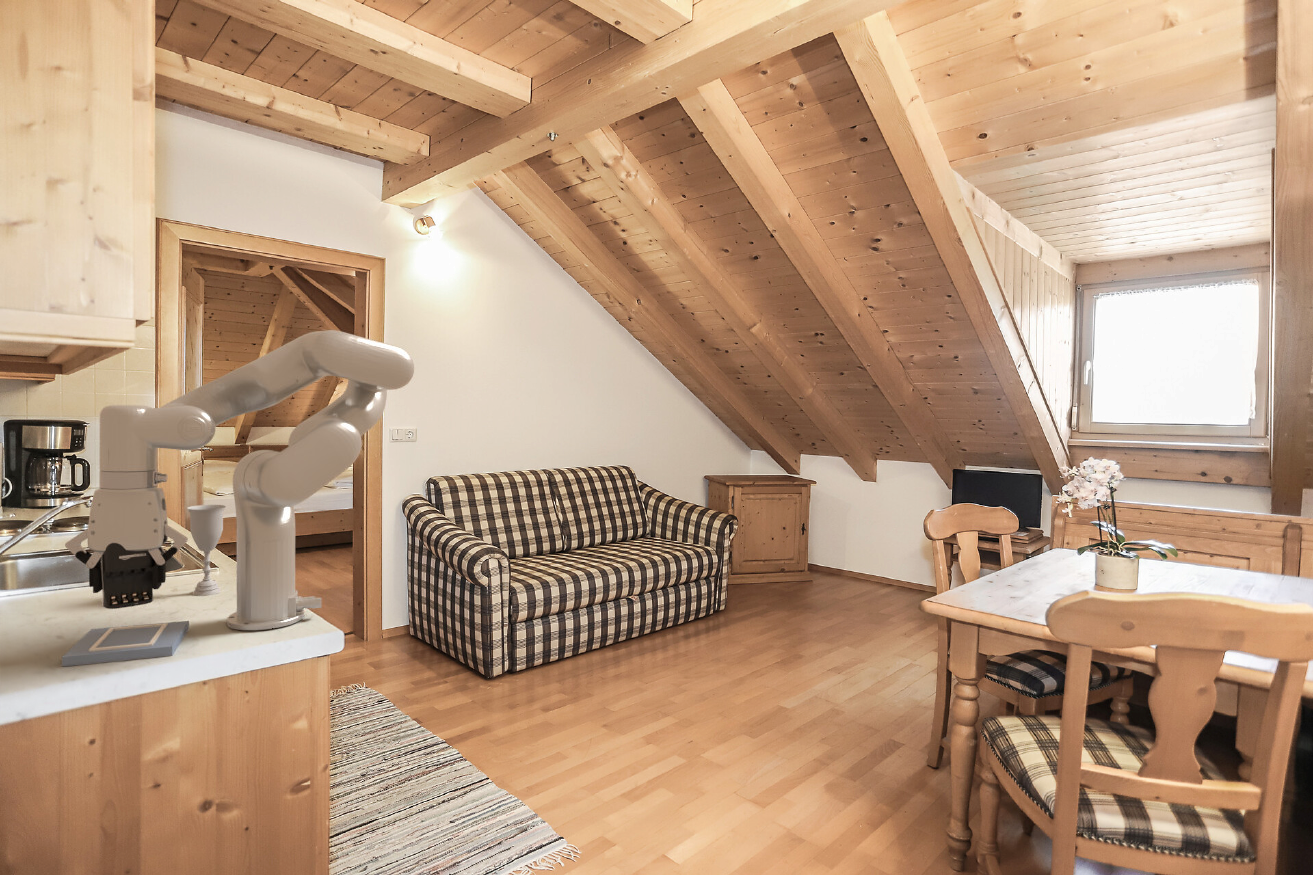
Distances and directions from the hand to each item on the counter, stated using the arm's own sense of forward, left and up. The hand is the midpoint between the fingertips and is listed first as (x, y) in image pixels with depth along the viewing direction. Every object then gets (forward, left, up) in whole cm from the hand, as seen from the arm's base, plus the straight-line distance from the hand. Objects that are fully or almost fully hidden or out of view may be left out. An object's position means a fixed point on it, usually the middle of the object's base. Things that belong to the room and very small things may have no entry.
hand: (128, 588), depth 117 cm
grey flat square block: (0, 0, -10) cm, 10 cm away
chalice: (-6, -33, -10) cm, 35 cm away
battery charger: (0, 0, -3) cm, 3 cm away
